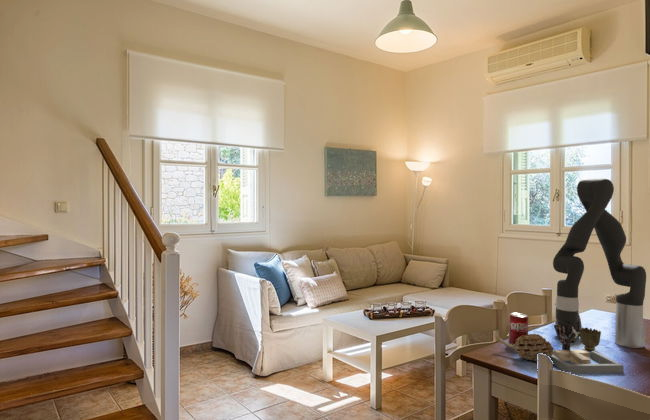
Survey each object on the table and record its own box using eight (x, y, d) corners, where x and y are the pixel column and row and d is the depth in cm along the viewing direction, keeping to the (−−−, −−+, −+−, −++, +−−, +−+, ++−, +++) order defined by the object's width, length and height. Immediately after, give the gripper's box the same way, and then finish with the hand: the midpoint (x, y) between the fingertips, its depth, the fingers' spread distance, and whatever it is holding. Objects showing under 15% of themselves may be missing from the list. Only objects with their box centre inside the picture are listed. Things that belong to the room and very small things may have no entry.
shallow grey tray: (594, 357, 162) (594, 351, 162) (623, 372, 147) (623, 365, 147) (543, 357, 161) (543, 351, 160) (567, 373, 146) (567, 365, 146)
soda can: (530, 347, 173) (530, 317, 172) (510, 345, 174) (511, 316, 174) (525, 341, 180) (525, 313, 180) (506, 340, 181) (507, 312, 181)
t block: (584, 357, 161) (584, 350, 161) (602, 368, 151) (603, 359, 151) (553, 358, 161) (553, 350, 161) (569, 368, 151) (570, 359, 151)
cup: (593, 354, 165) (593, 333, 165) (574, 348, 172) (575, 328, 172) (604, 351, 169) (605, 331, 169) (585, 345, 175) (586, 326, 175)
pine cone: (557, 362, 156) (558, 335, 156) (548, 369, 149) (549, 340, 149) (497, 347, 172) (498, 322, 172) (487, 353, 165) (487, 327, 165)
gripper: (588, 312, 156) (587, 359, 156) (565, 303, 169) (564, 347, 169) (568, 312, 156) (567, 359, 156) (547, 303, 169) (546, 347, 169)
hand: (565, 353), depth 163 cm, fingers closed
